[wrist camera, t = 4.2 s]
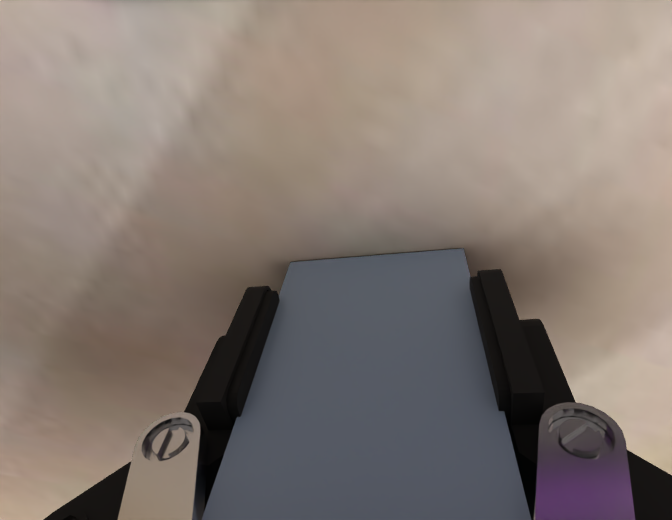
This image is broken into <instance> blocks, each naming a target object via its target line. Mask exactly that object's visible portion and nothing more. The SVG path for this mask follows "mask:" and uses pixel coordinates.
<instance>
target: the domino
mask: <svg viewBox="0 0 672 520" xmlns="http://www.w3.org/2000/svg"><path fill="white" fill-rule="evenodd" d="M470 277H471V276H470V272H469V268H468V264H467V260H466V256H465V252H464V248H462V249H450V250H437V251H425V252H412V253H400V254H387V255H374V256H362V257H349V258H337V259H324V260H312V261H299V262H290V265H289V268H288V270H287V273H286V276H285V279H284V282H283V285H282V288H281V291H280V294H279V299H280V302H279V305H278V307H277V310H276V313H275V316H274V319H273V322H272V325H271V328H270V331H269V334H268V337H267V340H266V343H265V346H264V349H263V352H262V355H261V358H260V361H259V364H258V367H257V370H256V373H255V376H254V379H253V382H252V385H251V388H250V391H249V394H248V397H247V400H246V403H245V406H244V409H243V412H242V415H241V417H237V418H236V421H235V424H234V427H233V430H232V433H231V436H230V439H229V441H228V444H227V447H226V450H225V453H224V456H223V459H222V462H221V465H220V468H219V470H218V473H217V476H216V479H215V482H214V485H213V488H212V491H211V494H210V497H209V499H208V502H207V505H206V508H205V511H204V514H203V517H202V520H531V517H530V513H529V509H528V505H527V501H526V497H525V493H524V489H523V485H522V481H521V477H520V473H519V469H518V465H517V461H516V457H515V453H514V449H513V445H512V441H511V437H510V433H509V429H508V425H507V421H506V417H505V413H504V411H499V410H498V406H497V402H496V398H495V393H494V389H493V385H492V381H491V377H490V372H489V368H488V364H487V360H486V355H485V351H484V347H483V343H482V339H481V334H480V330H479V326H478V322H477V317H476V313H475V309H474V305H473V301H472V296H471V292H470V284H469V281H470Z"/></svg>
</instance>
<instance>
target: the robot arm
mask: <svg viewBox="0 0 672 520" xmlns="http://www.w3.org/2000/svg"><path fill="white" fill-rule="evenodd" d="M469 284H470V292H471V296H472V301H473V305H474V309H475V313H476V317H477V322H478V326H479V330H480V334H481V339H482V343H483V347H484V351H485V355H486V360H487V364H488V368H489V372H490V377H491V381H492V385H493V389H494V393H495V398H496V402H497V406H498V410H499V411H504V413H505V417H506V421H507V425H508V429H509V433H510V437H511V441H512V445H513V449H514V453H515V457H516V461H517V465H518V469H519V473H520V477H521V481H522V485H523V489H524V493H525V497H526V501H527V505H528V509H529V513H530V517H531V520H672V475H670V474H668V473H666V472H665V471H663V470H661V469H659V468H658V467H656V466H654V465H652V464H651V463H649V462H647V461H645V460H644V459H642V458H640V457H639V456H637V455H635V454H633V453H632V452H630V451H628V450H627V449H626V441H625V438H624V435H623V432H622V430H621V429H620V427H619V426H618V425H617V423H616V422H615V421H614V420H613V419H612V418H611V417H609V416H608V415H607V414H606V413H604V412H602V411H600V410H598V409H596V408H594V407H592V406H589V405H585V404H582V403H576V402H575V400H574V397H573V395H572V393H571V390H570V388H569V385H568V383H567V381H566V378H565V376H564V373H563V371H562V369H561V366H560V364H559V361H558V359H557V357H556V354H555V352H554V349H553V347H552V345H551V342H550V340H549V337H548V335H547V333H546V330H545V328H544V325H543V323H542V322H541V320H539V319H530V320H519V318H518V315H517V312H516V310H515V307H514V304H513V301H512V298H511V295H510V293H509V290H508V287H507V284H506V281H505V279H504V276H503V273H502V271H501V269H496V270H482V271H478V273H477V277H470V281H469ZM279 302H280V299H279V296H278V293H277V291H271V289H270V287H269V286H260V287H249V288H247V289H246V291H245V294H244V296H243V298H242V300H241V302H240V305H239V307H238V309H237V311H236V314H235V316H234V318H233V320H232V323H231V325H230V327H229V329H228V331H227V334H226V336H222V337H220V338H219V339H218V341H217V343H216V345H215V347H214V349H213V351H212V353H211V355H210V358H209V360H208V362H207V364H206V366H205V368H204V371H203V373H202V375H201V377H200V379H199V381H198V383H197V386H196V388H195V390H194V392H193V394H192V396H191V399H190V401H189V403H188V405H187V407H186V409H185V411H184V412H177V413H171V414H168V415H165V416H163V417H161V418H159V419H157V420H156V421H154V422H153V423H151V424H150V425H149V426H148V427H147V428H146V429H145V430H144V431H143V432H142V434H141V435H140V436H139V438H138V440H137V443H136V445H135V448H134V452H133V456H132V461H131V462H129V463H128V464H126V465H125V466H123V467H122V468H120V469H119V470H117V471H116V472H114V473H112V474H111V475H109V476H108V477H106V478H105V479H103V480H102V481H100V482H99V483H97V484H96V485H94V486H93V487H91V488H90V489H88V490H86V491H85V492H83V493H82V494H80V495H79V496H77V497H76V498H74V499H73V500H71V501H70V502H68V503H67V504H65V505H64V506H62V507H61V508H59V509H57V510H56V511H54V512H53V513H52V514H50V515H49V516H48V517H47V518H45V519H44V520H202V517H203V514H204V511H205V508H206V505H207V502H208V499H209V497H210V494H211V491H212V488H213V485H214V482H215V479H216V476H217V473H218V470H219V468H220V465H221V462H222V459H223V456H224V453H225V450H226V447H227V444H228V441H229V439H230V436H231V433H232V430H233V427H234V424H235V421H236V418H237V417H241V415H242V412H243V409H244V406H245V403H246V400H247V397H248V394H249V391H250V388H251V385H252V382H253V379H254V376H255V373H256V370H257V367H258V364H259V361H260V358H261V355H262V352H263V349H264V346H265V343H266V340H267V337H268V334H269V331H270V328H271V325H272V322H273V319H274V316H275V313H276V310H277V307H278V305H279Z"/></svg>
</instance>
